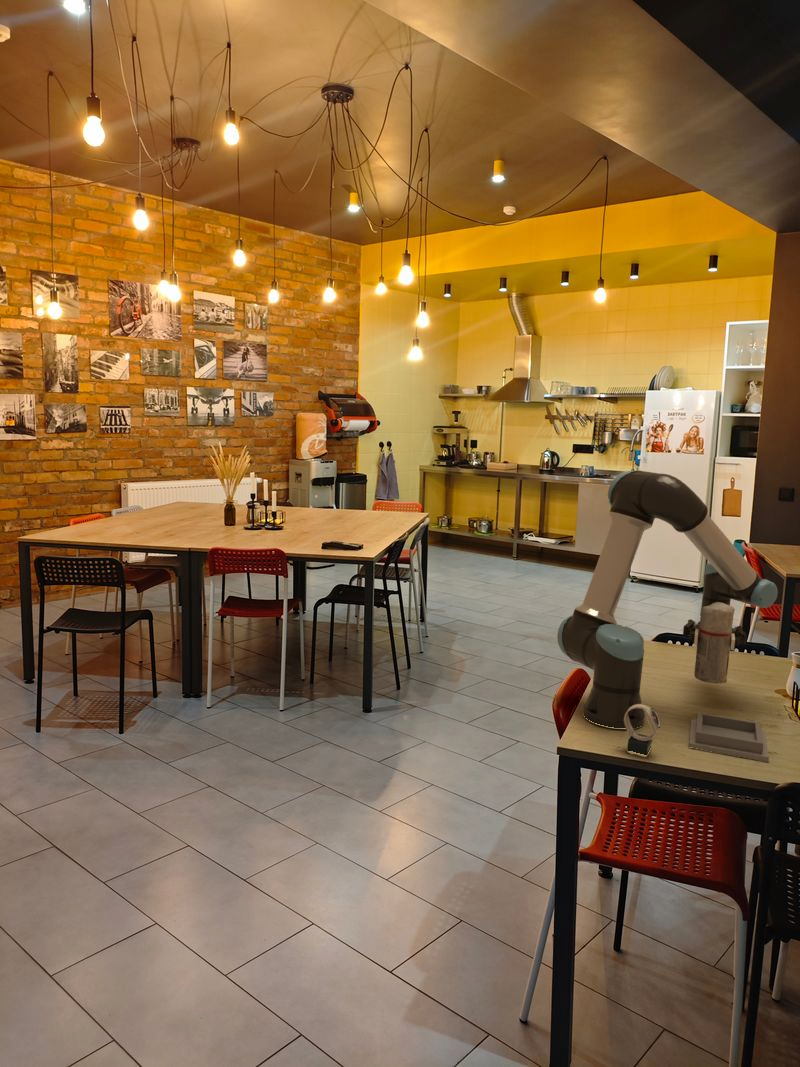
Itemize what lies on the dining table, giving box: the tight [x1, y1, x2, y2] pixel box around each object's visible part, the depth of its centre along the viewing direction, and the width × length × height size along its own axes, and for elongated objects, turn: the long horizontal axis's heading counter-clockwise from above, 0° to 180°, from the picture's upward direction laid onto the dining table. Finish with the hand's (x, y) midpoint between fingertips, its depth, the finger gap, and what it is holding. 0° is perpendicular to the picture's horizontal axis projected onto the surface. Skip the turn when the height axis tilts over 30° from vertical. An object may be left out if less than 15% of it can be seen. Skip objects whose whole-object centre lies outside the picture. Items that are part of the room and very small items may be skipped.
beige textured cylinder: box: [693, 602, 735, 684], centre depth 200 cm, size 8×8×20 cm
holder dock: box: [688, 711, 770, 763], centre depth 188 cm, size 17×17×4 cm
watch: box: [624, 703, 661, 755], centre depth 180 cm, size 6×8×11 cm
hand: (714, 642), depth 196 cm, fingers closed on beige textured cylinder, 8 cm apart
